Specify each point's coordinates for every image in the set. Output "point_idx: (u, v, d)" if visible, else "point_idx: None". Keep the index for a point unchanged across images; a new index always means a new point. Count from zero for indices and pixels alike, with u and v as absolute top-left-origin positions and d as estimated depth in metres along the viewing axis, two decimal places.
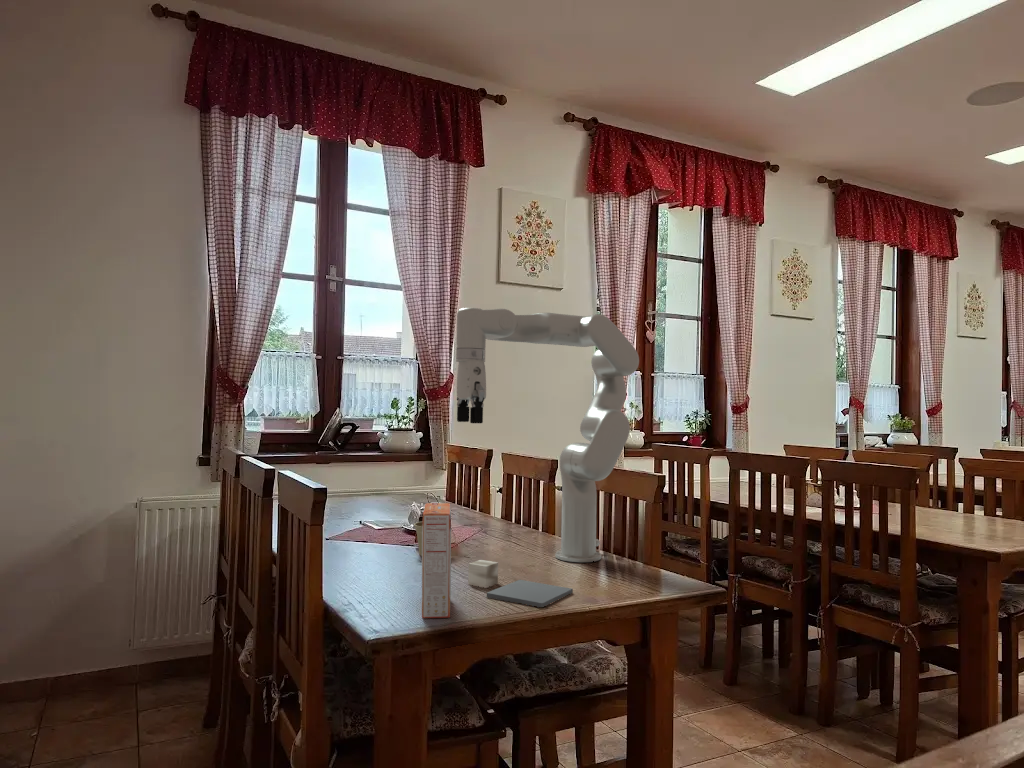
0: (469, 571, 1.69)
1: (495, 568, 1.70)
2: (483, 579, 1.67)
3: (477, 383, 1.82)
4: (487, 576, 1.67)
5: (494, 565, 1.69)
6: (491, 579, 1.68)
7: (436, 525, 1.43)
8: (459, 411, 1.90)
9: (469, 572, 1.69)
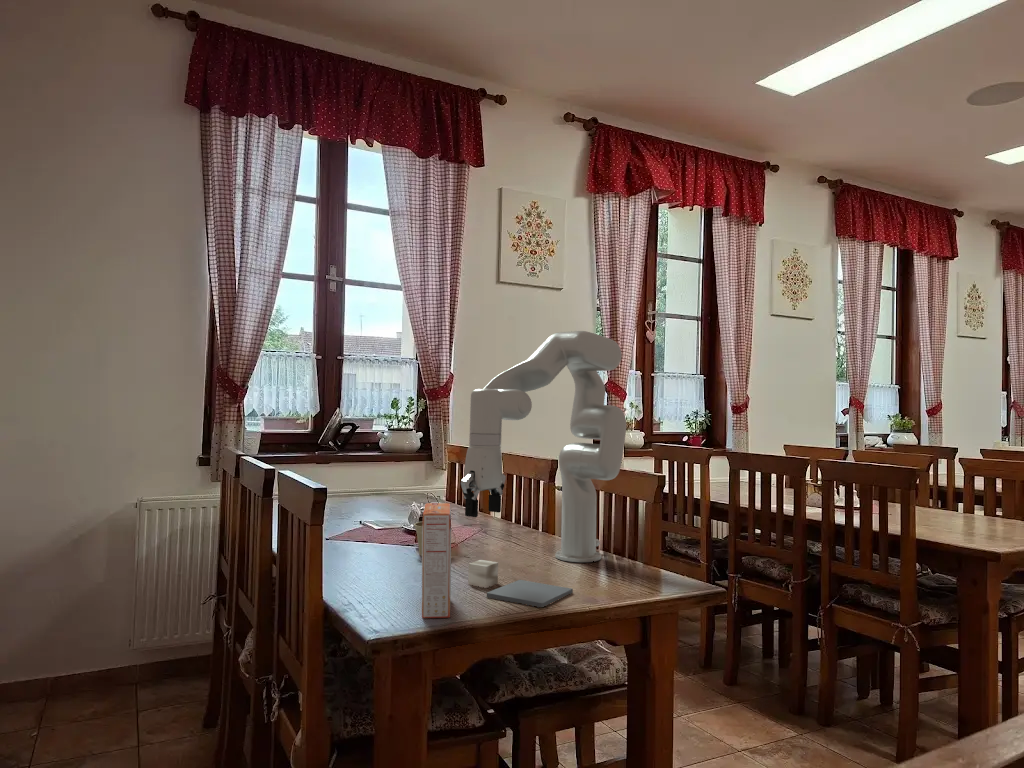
0: (469, 571, 1.69)
1: (495, 568, 1.70)
2: (483, 579, 1.67)
3: None
4: (487, 576, 1.67)
5: (494, 565, 1.69)
6: (491, 579, 1.68)
7: (436, 525, 1.43)
8: None
9: (469, 572, 1.69)
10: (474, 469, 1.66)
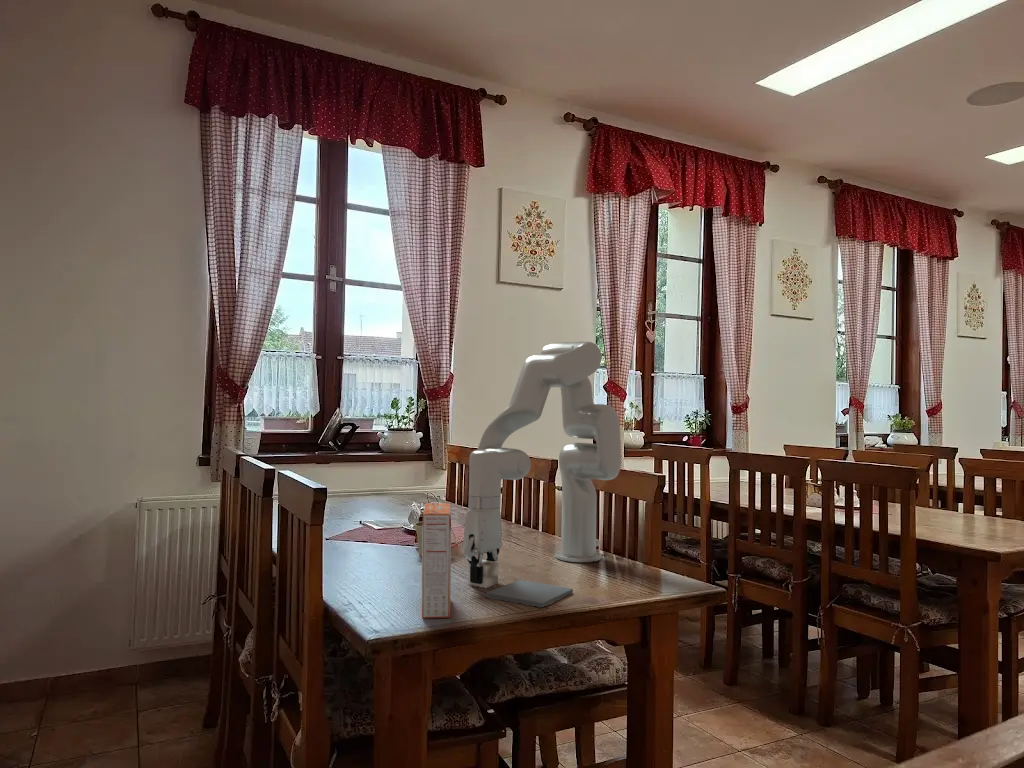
0: (469, 571, 1.69)
1: (495, 568, 1.70)
2: (483, 579, 1.67)
3: None
4: (487, 576, 1.67)
5: (494, 565, 1.69)
6: (491, 579, 1.68)
7: (436, 525, 1.43)
8: None
9: (469, 572, 1.69)
10: (474, 533, 1.66)
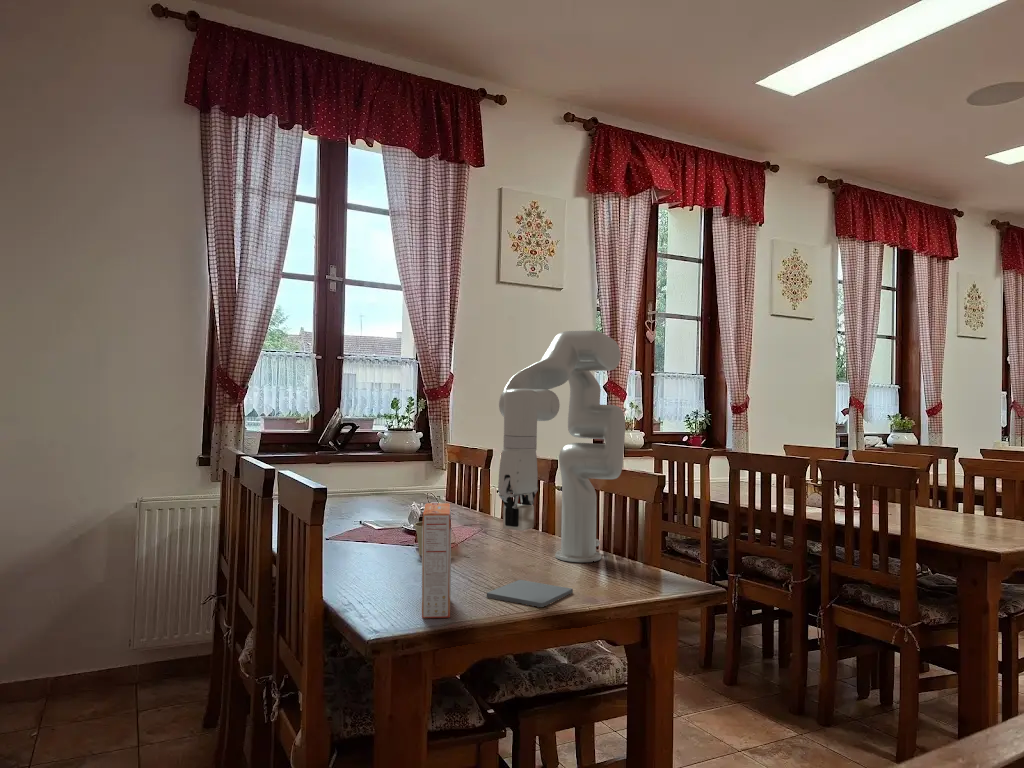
0: (504, 514, 1.63)
1: (531, 511, 1.63)
2: (519, 521, 1.60)
3: None
4: (523, 519, 1.61)
5: (530, 508, 1.63)
6: (527, 522, 1.62)
7: (436, 525, 1.43)
8: None
9: (504, 515, 1.63)
10: (509, 473, 1.59)
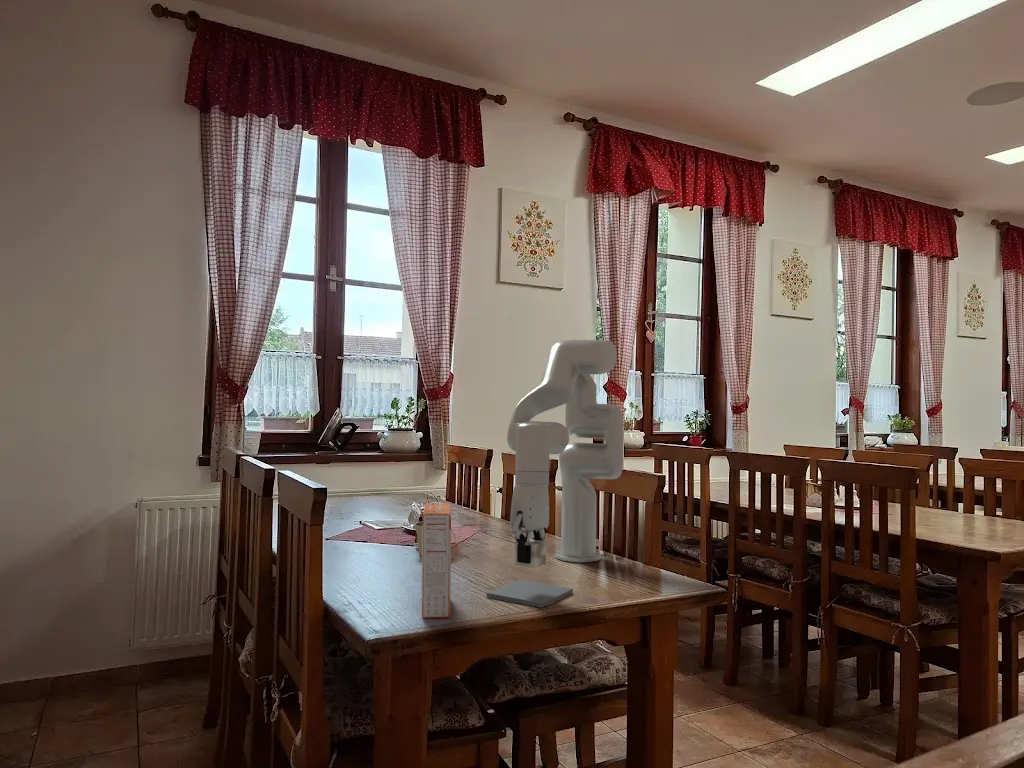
0: (516, 550, 1.60)
1: (543, 547, 1.61)
2: (531, 558, 1.58)
3: None
4: (536, 555, 1.58)
5: (542, 544, 1.60)
6: (539, 559, 1.59)
7: (436, 525, 1.43)
8: None
9: (516, 551, 1.60)
10: (522, 509, 1.57)
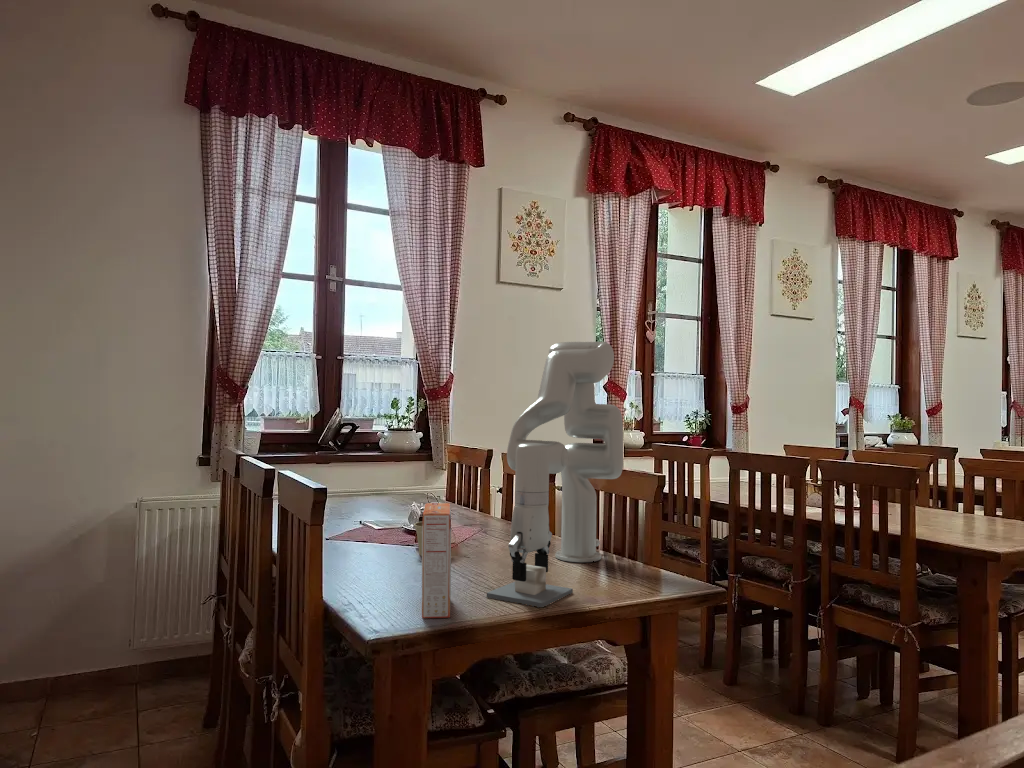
0: None
1: (543, 573, 1.61)
2: (531, 585, 1.58)
3: None
4: (536, 582, 1.58)
5: (542, 570, 1.60)
6: (539, 585, 1.59)
7: (436, 525, 1.43)
8: None
9: None
10: (522, 530, 1.57)
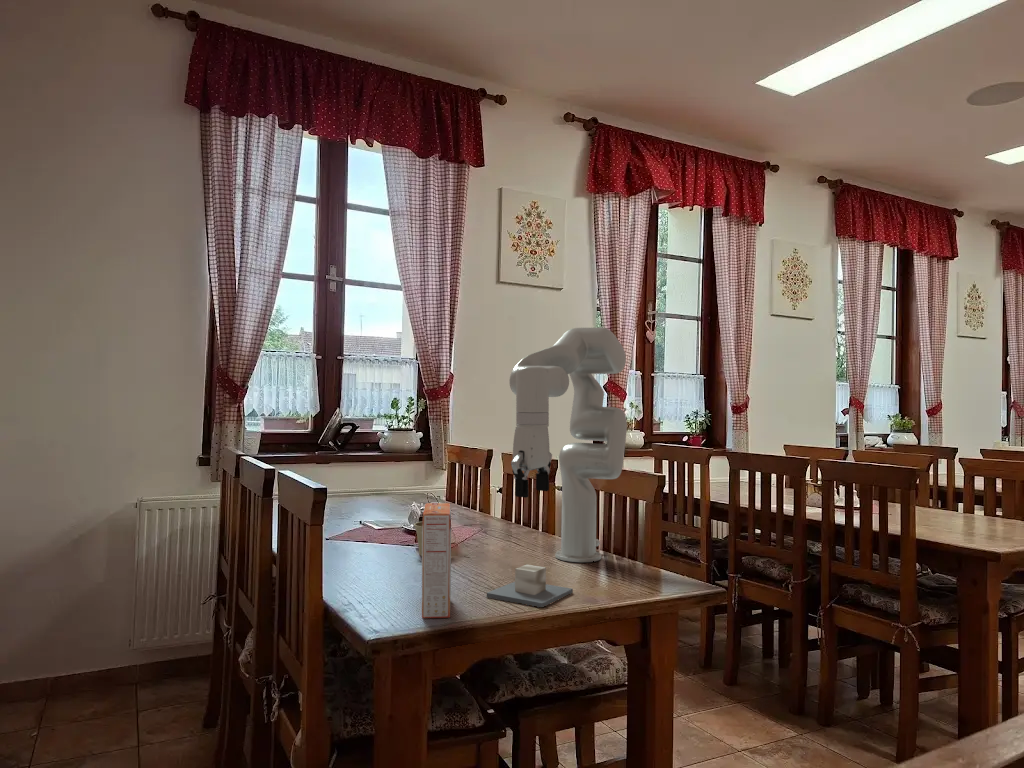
0: (516, 577, 1.60)
1: (543, 573, 1.61)
2: (531, 585, 1.58)
3: None
4: (536, 582, 1.58)
5: (542, 570, 1.60)
6: (539, 585, 1.59)
7: (436, 525, 1.43)
8: None
9: (516, 578, 1.60)
10: (523, 449, 1.63)
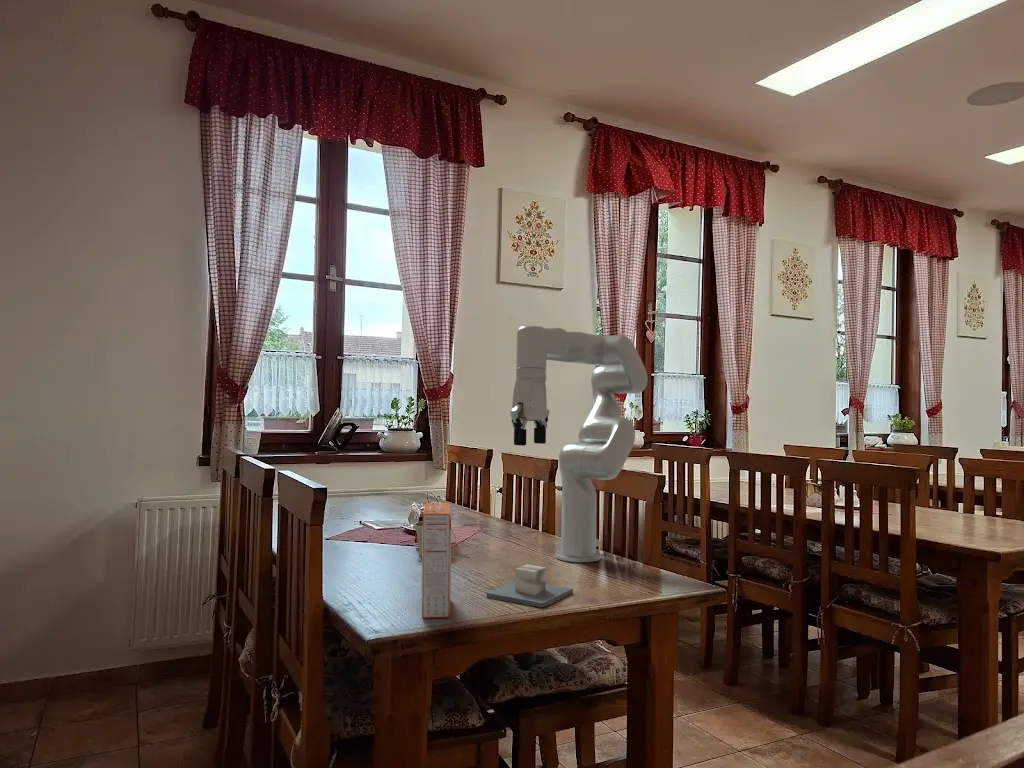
0: (516, 577, 1.60)
1: (543, 573, 1.61)
2: (531, 585, 1.58)
3: None
4: (536, 582, 1.58)
5: (542, 570, 1.60)
6: (539, 585, 1.59)
7: (436, 525, 1.43)
8: None
9: (516, 578, 1.60)
10: (522, 400, 1.76)
